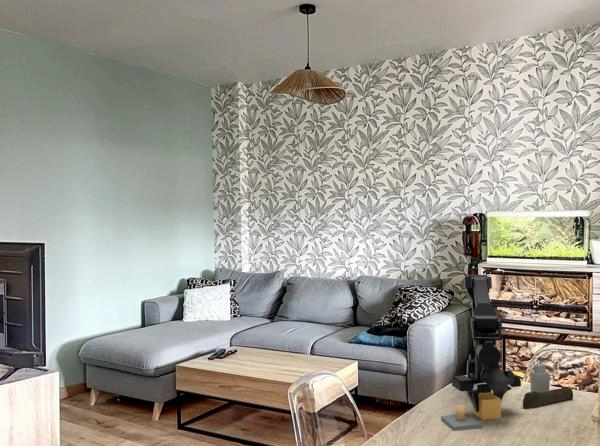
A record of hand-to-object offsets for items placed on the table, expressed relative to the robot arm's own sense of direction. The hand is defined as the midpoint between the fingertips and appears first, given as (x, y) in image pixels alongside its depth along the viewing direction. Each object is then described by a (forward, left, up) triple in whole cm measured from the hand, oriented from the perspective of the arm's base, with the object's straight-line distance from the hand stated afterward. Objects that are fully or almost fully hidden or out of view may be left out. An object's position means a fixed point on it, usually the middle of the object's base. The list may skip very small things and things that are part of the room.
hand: (486, 411), depth 160 cm
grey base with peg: (+4, -10, -1) cm, 11 cm away
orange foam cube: (0, 0, -1) cm, 1 cm away
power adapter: (-12, +25, -1) cm, 28 cm away
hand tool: (-4, +22, -2) cm, 23 cm away
